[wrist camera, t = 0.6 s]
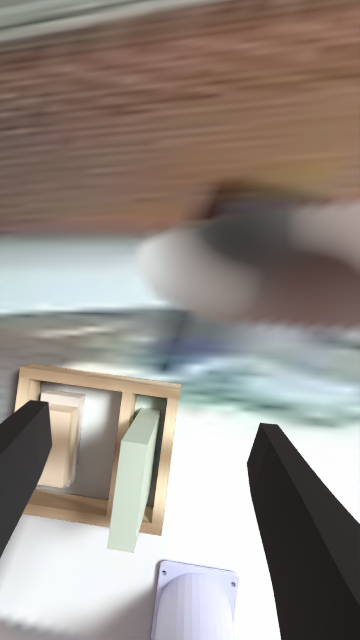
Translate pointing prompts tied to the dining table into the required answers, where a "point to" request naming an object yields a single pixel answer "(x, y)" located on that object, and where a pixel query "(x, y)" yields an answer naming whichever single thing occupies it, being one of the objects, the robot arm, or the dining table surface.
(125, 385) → the rack
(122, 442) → the pale green slab
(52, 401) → the offcut lower
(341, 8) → the dining table surface
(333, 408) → the dining table surface
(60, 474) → the offcut upper
